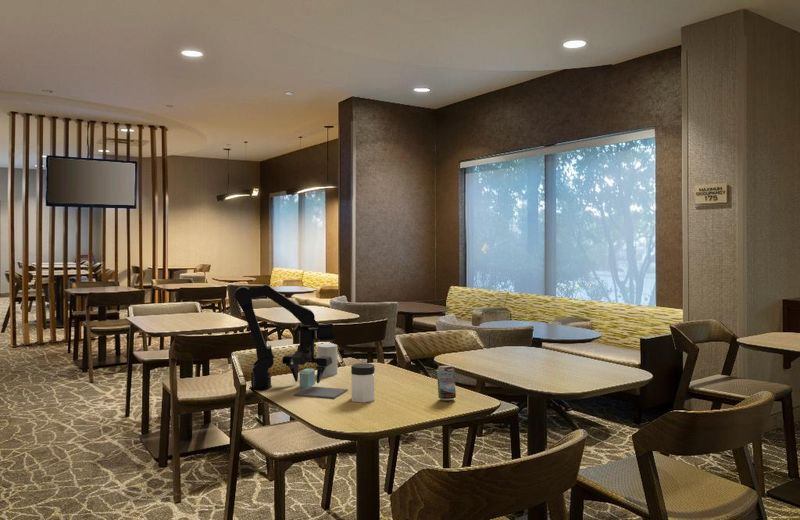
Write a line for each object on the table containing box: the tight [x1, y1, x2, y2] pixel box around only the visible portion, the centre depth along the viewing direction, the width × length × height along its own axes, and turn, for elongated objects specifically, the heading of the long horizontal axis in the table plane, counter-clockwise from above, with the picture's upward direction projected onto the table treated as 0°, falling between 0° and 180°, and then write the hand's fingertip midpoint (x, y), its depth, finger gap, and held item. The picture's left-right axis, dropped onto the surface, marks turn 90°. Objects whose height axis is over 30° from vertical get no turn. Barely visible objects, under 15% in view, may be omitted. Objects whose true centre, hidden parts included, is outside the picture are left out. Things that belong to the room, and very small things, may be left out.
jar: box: [350, 362, 376, 404], centre depth 212 cm, size 9×8×12 cm
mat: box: [293, 385, 349, 400], centre depth 221 cm, size 16×12×1 cm
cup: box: [317, 343, 339, 377], centre depth 253 cm, size 8×8×12 cm
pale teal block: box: [298, 367, 316, 389], centre depth 233 cm, size 4×6×6 cm, turn 162°
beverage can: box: [436, 365, 457, 401], centre depth 211 cm, size 6×7×12 cm
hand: (307, 382), depth 233 cm, fingers open, 9 cm apart
